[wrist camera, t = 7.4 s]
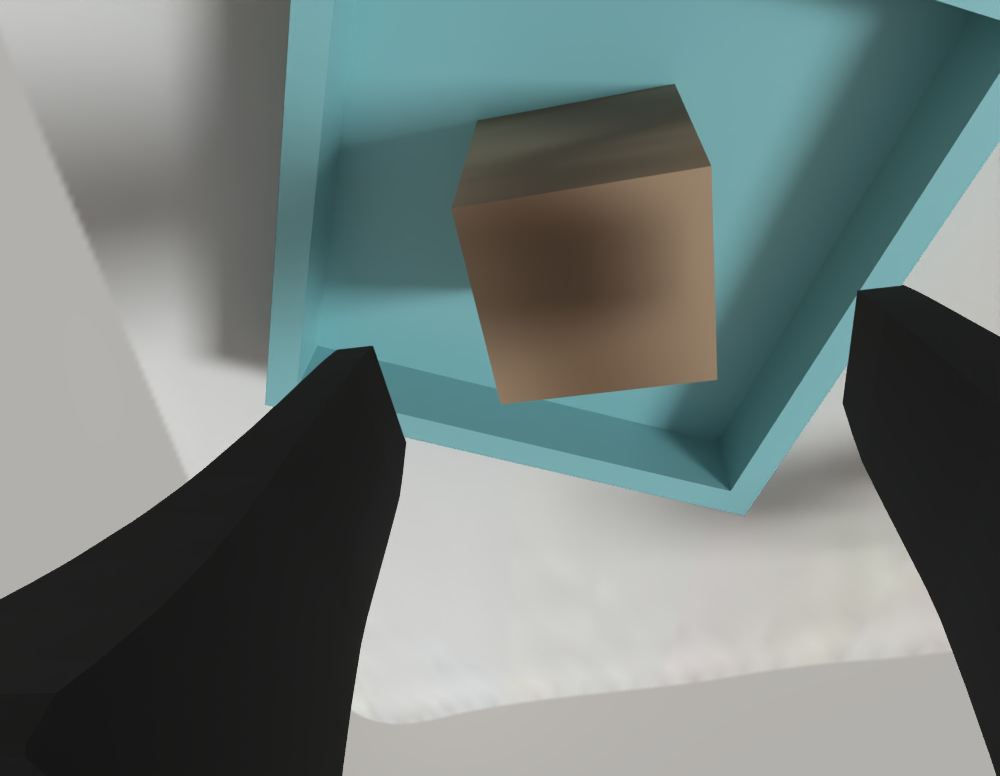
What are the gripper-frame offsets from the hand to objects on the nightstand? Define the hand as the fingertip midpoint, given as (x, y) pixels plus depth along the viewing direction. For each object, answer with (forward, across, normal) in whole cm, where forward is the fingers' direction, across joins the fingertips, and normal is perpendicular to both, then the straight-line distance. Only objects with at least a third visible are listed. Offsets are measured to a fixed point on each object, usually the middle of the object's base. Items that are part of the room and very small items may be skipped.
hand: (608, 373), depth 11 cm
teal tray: (+8, 0, +1) cm, 8 cm away
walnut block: (+8, 0, 0) cm, 8 cm away
